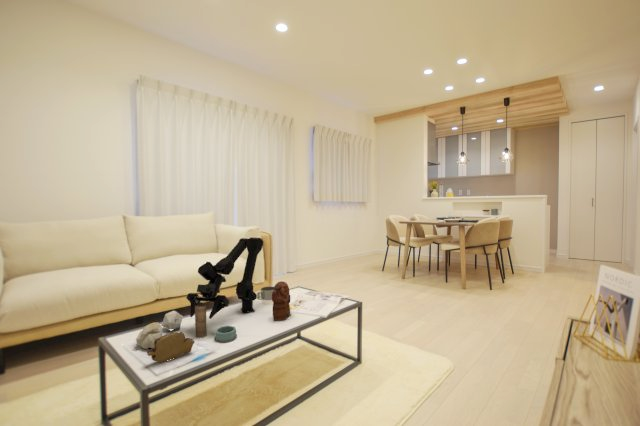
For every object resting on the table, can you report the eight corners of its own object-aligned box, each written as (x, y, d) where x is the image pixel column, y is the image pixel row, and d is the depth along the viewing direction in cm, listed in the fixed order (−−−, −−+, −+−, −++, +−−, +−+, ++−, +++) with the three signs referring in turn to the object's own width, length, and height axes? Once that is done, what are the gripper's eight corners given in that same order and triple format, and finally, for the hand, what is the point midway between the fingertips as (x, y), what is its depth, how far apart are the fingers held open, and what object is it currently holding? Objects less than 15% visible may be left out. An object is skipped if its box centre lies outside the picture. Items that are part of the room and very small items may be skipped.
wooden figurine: (282, 322, 154) (282, 285, 154) (271, 320, 156) (270, 284, 156) (292, 314, 166) (292, 279, 165) (281, 312, 168) (281, 278, 167)
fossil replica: (143, 354, 124) (168, 347, 132) (146, 333, 124) (170, 327, 132) (129, 343, 131) (154, 337, 139) (131, 323, 131) (156, 318, 139)
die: (158, 334, 143) (168, 319, 140) (158, 319, 149) (167, 305, 147) (177, 336, 148) (186, 321, 145) (175, 321, 154) (185, 307, 152)
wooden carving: (190, 349, 127) (189, 324, 127) (195, 353, 124) (194, 327, 124) (145, 365, 116) (144, 337, 115) (149, 369, 112) (148, 341, 112)
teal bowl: (213, 335, 140) (213, 327, 140) (235, 332, 144) (234, 324, 143) (215, 344, 131) (215, 335, 131) (238, 340, 135) (238, 331, 135)
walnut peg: (195, 334, 141) (194, 301, 141) (206, 332, 143) (205, 300, 142) (195, 338, 137) (195, 304, 137) (207, 336, 139) (206, 303, 138)
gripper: (188, 275, 146) (172, 307, 136) (225, 277, 142) (211, 310, 132) (199, 287, 154) (184, 318, 144) (234, 290, 150) (222, 322, 140)
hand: (200, 317), depth 139 cm, fingers open, 9 cm apart
